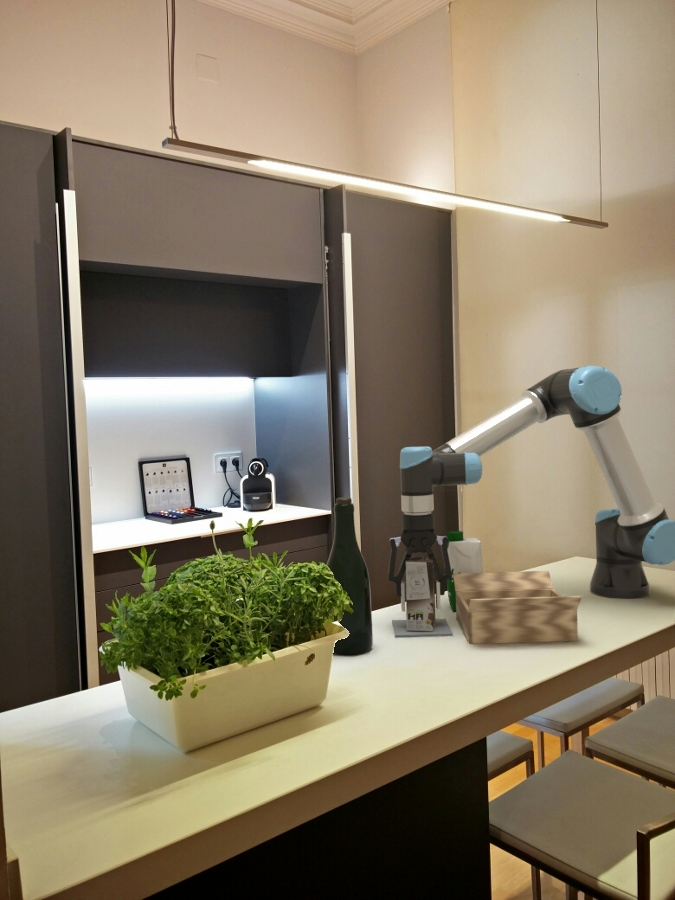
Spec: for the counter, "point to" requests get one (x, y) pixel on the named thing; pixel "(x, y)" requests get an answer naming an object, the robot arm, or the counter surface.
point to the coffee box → (420, 593)
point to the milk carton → (462, 559)
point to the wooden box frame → (514, 608)
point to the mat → (439, 630)
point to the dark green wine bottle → (351, 581)
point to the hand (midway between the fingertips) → (420, 609)
